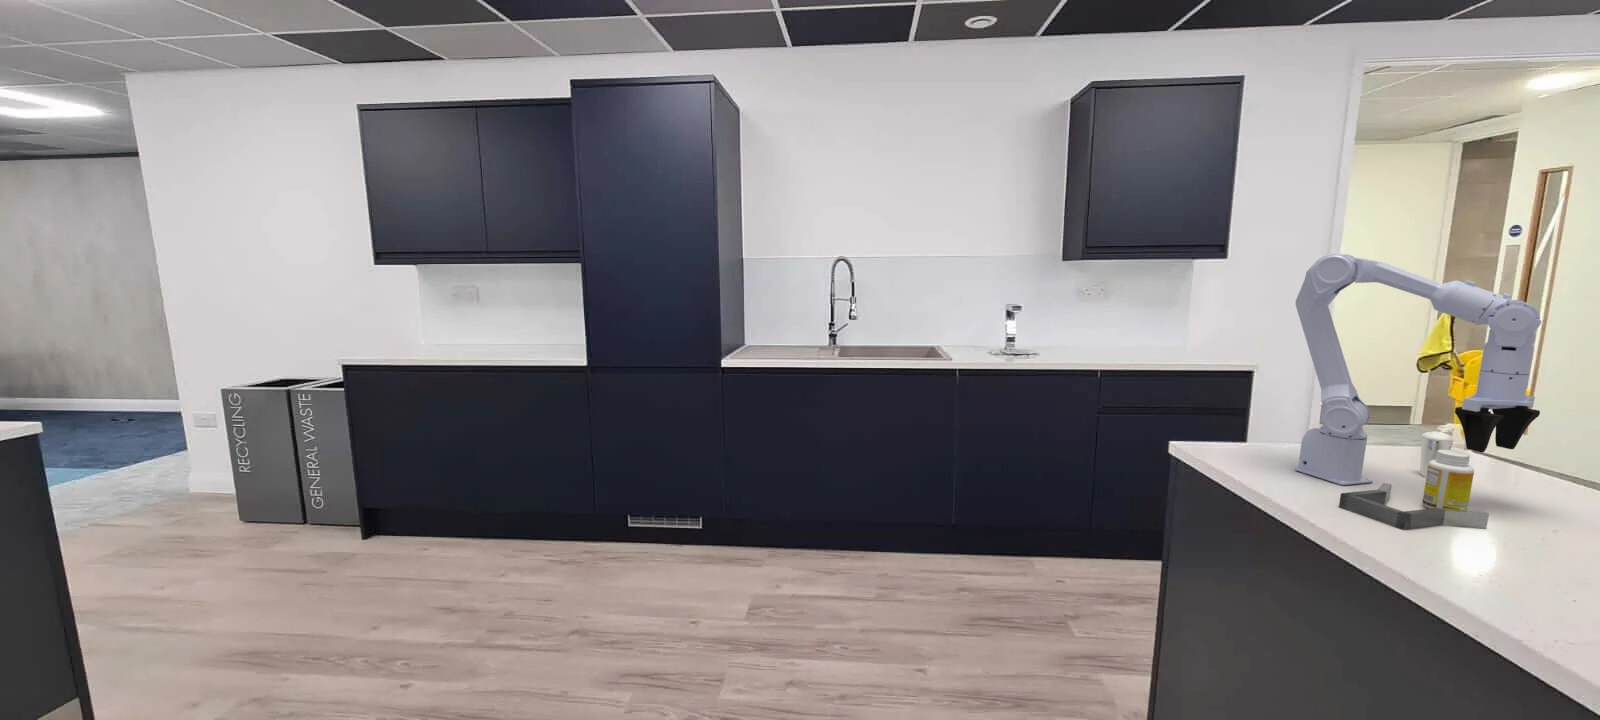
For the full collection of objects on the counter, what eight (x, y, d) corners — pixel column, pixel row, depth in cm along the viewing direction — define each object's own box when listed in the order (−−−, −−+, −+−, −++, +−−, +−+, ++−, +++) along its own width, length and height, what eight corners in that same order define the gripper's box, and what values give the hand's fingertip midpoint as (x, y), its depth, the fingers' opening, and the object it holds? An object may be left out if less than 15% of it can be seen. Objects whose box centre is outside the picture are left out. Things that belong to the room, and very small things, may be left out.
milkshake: (1408, 470, 133) (1415, 423, 131) (1444, 475, 129) (1452, 427, 128) (1412, 476, 129) (1419, 427, 127) (1449, 481, 126) (1457, 432, 124)
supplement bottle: (1472, 512, 110) (1483, 455, 108) (1458, 518, 107) (1468, 459, 106) (1430, 501, 115) (1439, 446, 113) (1415, 506, 112) (1424, 450, 111)
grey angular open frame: (1323, 501, 114) (1325, 488, 114) (1383, 495, 118) (1385, 482, 117) (1423, 536, 100) (1426, 521, 99) (1488, 528, 103) (1491, 513, 103)
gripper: (1506, 377, 104) (1492, 458, 106) (1564, 374, 107) (1549, 452, 109) (1452, 370, 110) (1439, 447, 112) (1508, 367, 114) (1495, 441, 116)
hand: (1490, 449), depth 111 cm, fingers open, 7 cm apart
